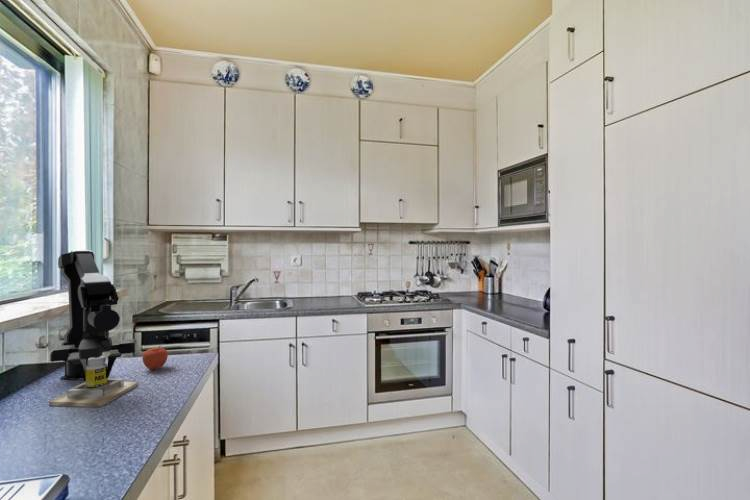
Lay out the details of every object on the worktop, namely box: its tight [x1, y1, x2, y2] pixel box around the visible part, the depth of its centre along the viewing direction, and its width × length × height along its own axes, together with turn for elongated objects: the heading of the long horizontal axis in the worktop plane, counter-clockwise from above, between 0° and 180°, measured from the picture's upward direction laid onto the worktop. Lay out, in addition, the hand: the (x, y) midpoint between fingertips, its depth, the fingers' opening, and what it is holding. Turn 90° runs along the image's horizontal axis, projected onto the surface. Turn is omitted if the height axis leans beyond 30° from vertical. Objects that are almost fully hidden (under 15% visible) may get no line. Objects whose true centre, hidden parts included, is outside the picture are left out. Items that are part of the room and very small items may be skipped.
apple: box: [142, 345, 169, 371], centre depth 121 cm, size 7×7×8 cm
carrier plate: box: [48, 377, 139, 408], centre depth 101 cm, size 14×14×3 cm
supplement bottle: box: [85, 355, 108, 389], centre depth 101 cm, size 5×5×8 cm
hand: (96, 379), depth 101 cm, fingers closed on supplement bottle, 5 cm apart
